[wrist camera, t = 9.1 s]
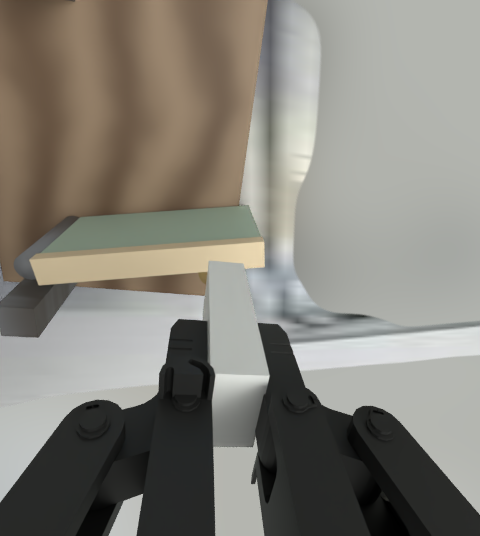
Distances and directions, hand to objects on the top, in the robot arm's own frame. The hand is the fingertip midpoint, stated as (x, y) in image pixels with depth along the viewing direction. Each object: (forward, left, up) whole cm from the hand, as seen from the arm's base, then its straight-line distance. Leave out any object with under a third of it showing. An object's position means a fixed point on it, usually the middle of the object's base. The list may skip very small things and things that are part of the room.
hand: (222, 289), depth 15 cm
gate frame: (-9, +3, -20) cm, 22 cm away
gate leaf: (-5, -4, -19) cm, 20 cm away
